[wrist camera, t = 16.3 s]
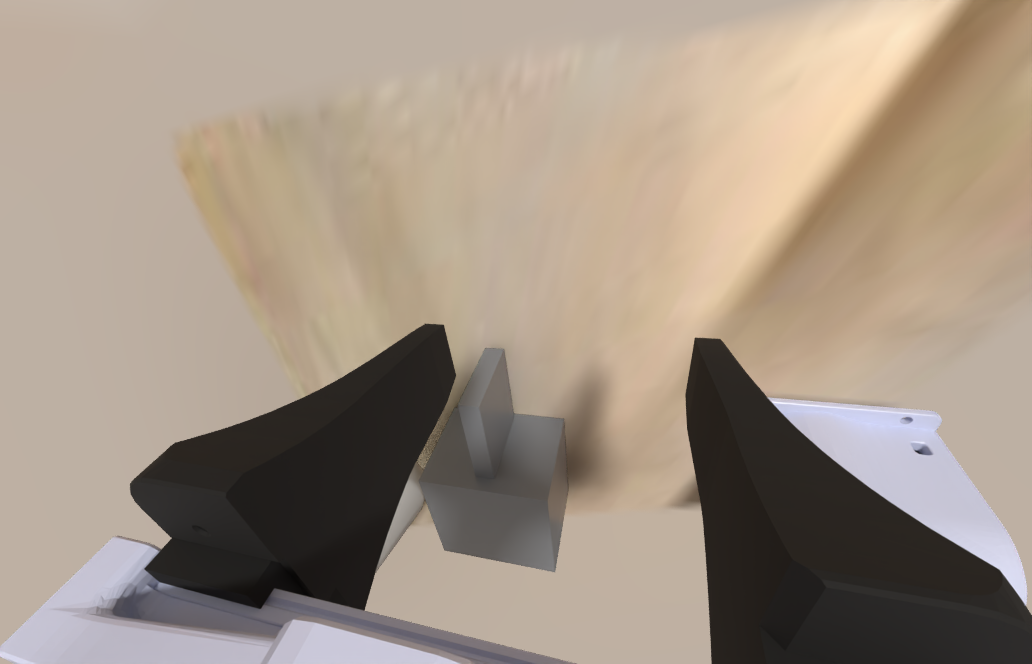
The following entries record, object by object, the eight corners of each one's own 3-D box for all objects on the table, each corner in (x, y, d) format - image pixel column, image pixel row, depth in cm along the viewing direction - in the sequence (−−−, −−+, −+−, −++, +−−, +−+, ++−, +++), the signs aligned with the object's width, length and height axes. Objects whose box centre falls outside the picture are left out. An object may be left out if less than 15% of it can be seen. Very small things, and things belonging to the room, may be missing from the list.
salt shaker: (443, 491, 38) (369, 664, 28) (389, 487, 40) (300, 648, 29) (420, 446, 35) (326, 623, 24) (362, 444, 37) (253, 608, 26)
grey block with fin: (568, 490, 33) (555, 572, 28) (472, 476, 35) (444, 550, 30) (560, 348, 25) (539, 427, 20) (437, 340, 27) (391, 410, 22)
